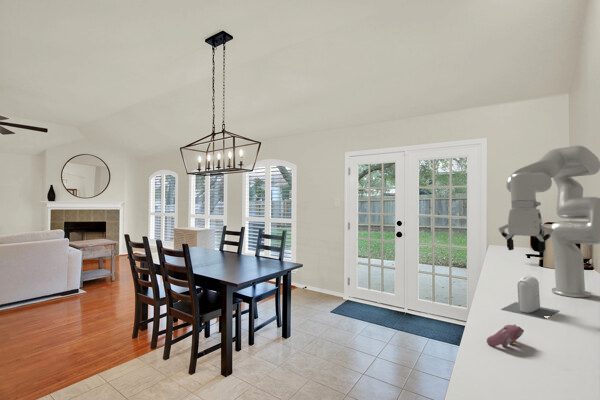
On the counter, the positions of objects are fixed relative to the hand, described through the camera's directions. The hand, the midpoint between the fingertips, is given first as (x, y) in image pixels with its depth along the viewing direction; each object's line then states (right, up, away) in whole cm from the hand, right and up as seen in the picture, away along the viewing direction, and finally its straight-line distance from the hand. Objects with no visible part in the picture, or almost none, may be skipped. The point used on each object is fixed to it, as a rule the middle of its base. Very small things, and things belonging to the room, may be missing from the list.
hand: (525, 251), depth 114 cm
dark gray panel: (+1, -22, -1) cm, 22 cm away
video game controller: (-26, -22, -28) cm, 44 cm away
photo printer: (+1, -22, -1) cm, 22 cm away
